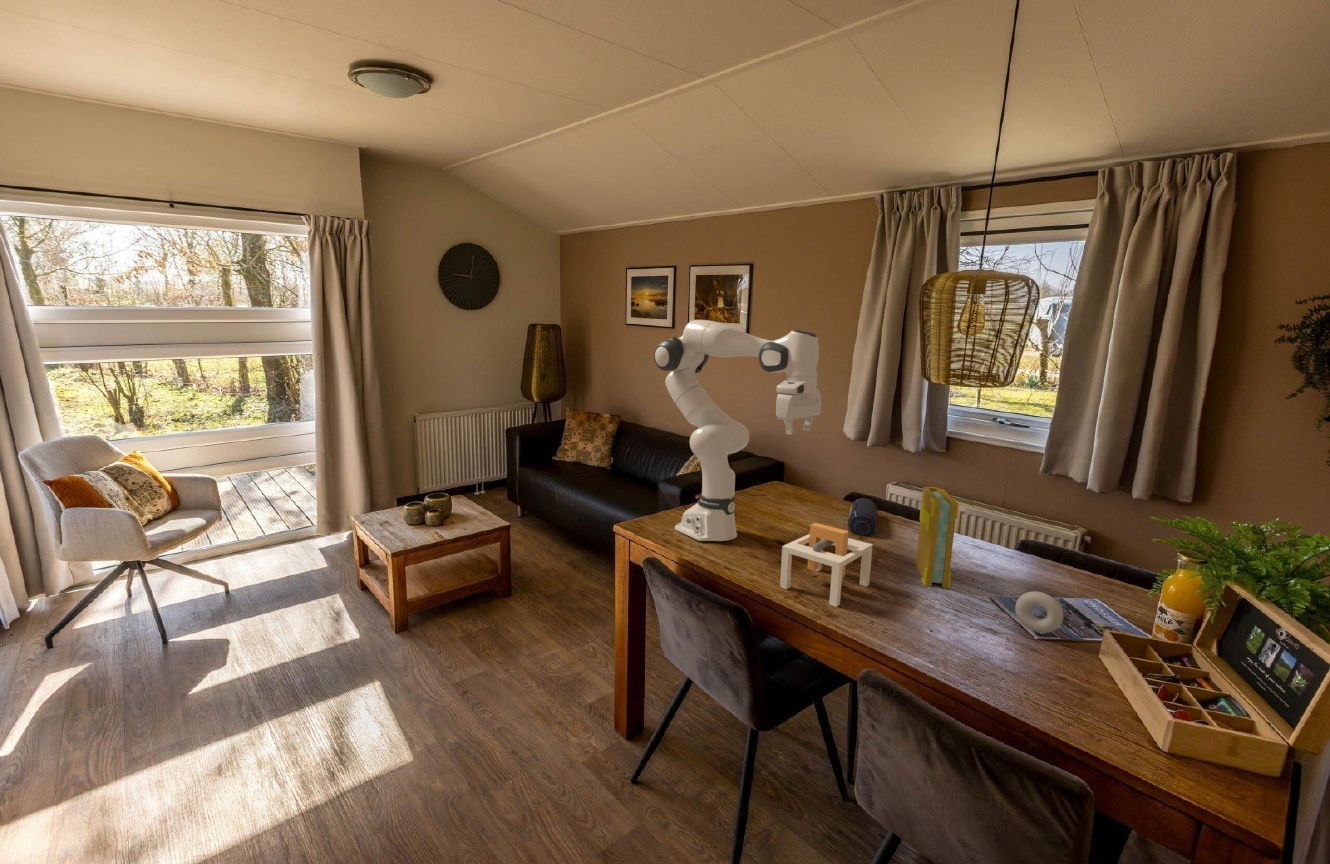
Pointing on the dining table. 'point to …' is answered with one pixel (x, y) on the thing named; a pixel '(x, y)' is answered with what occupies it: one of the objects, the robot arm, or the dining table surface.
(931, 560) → the book
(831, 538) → the orange arch
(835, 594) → the white miniature table
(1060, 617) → the donut
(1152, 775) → the dining table surface
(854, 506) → the portable speaker
